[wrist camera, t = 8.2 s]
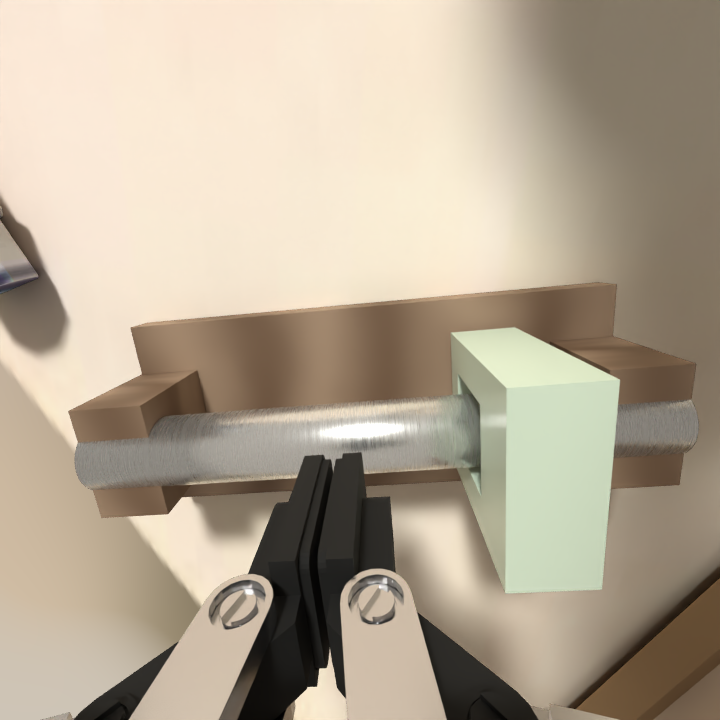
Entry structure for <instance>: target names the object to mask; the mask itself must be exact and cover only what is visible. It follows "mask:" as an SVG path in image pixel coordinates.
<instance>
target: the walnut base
mask: <svg viewBox="0 0 720 720" xmlns="http://www.w3.org/2000/svg"><path fill="white" fill-rule="evenodd" d="M616 289H617V284H609V283H599V282H598V283H587V284H576V285H565V286H553V287H542V288H531V289H520V290H509V291H498V292H486V293H475V294H464V295H453V296H442V297H431V298H419V299H408V300H397V301H386V302H375V303H364V304H353V305H341V306H330V307H319V308H308V309H297V310H286V311H274V312H263V313H252V314H241V315H230V316H219V317H207V318H196V319H185V320H174V321H163V322H152V323H145V324H142V325H138V326H135V327H131V332H132V336H133V340H134V344H135V348H136V352H137V356H138V360H139V364H140V367H141V371H142V375H140V376H138V377H136V378H134V379H132V380H130V381H128V382H126V383H124V384H122V385H120V386H118V387H116V388H114V389H112V390H110V391H108V392H106V393H104V394H102V395H100V396H98V397H96V398H94V399H92V400H90V401H88V402H86V403H84V404H82V405H80V406H78V407H76V408H74V409H72V410H70V411H68V412H69V415H70V418H71V421H72V425H73V428H74V431H75V434H76V437H77V441H78V443H79V442H93V441H108V440H122V439H136V438H148V437H149V434H150V431H151V429H152V427H153V426H154V424H155V423H156V422H157V421H158V420H159V419H160V418H162V417H164V416H172V415H185V414H199V413H213V412H226V411H240V410H253V409H267V408H280V407H294V406H308V405H321V404H335V403H348V402H362V401H376V400H389V399H403V398H416V397H430V396H443V395H453V390H452V360H451V333H452V332H464V331H476V330H488V329H500V328H512V327H515V328H517V329H519V330H521V331H523V332H525V333H527V334H529V335H531V336H533V337H535V338H537V339H539V340H541V341H543V342H545V343H547V344H549V345H551V346H553V347H555V348H557V349H559V350H561V351H563V352H565V353H567V354H569V355H571V356H573V357H575V358H577V359H579V360H581V361H583V362H585V363H587V364H589V365H591V366H593V367H595V368H597V369H600V370H602V371H604V372H606V373H608V374H610V375H612V376H614V377H616V378H618V379H620V386H619V398H618V405H620V404H635V403H649V402H663V401H677V400H691V398H692V390H693V383H694V376H695V369H696V363H693V362H690V361H686V360H683V359H680V358H677V357H674V356H671V355H668V354H665V353H662V352H659V351H656V350H653V349H650V348H647V347H644V346H641V345H638V344H635V343H632V342H629V341H626V340H623V339H620V338H617V337H614V336H613V327H614V314H615V301H616ZM683 455H684V453H683V454H667V455H650V456H634V457H618V458H613V467H612V479H611V489H617V488H634V487H652V486H669V485H679V484H680V477H681V469H682V462H683ZM364 478H365V486H377V485H394V484H411V483H427V482H444V481H461V478H460V475H459V473H458V470H457V468H452V469H436V470H420V471H403V472H387V473H371V474H364ZM296 479H297V478H290V479H274V480H258V481H242V482H225V483H209V484H193V485H177V486H150V487H134V488H118V489H102V490H93V492H94V495H95V498H96V501H97V505H98V508H99V511H100V514H101V517H102V518H109V517H126V516H144V515H161V514H169V512H170V511H171V510H172V509H173V507H174V506H175V505H176V504H177V503H178V501H179V500H180V499H181V498H182V497H193V496H210V495H227V494H244V493H260V492H277V491H293V488H294V485H295V482H296Z"/></svg>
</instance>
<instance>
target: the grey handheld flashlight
mask: <svg viewBox="0 0 720 720" xmlns="http://www.w3.org/2000/svg"><path fill="white" fill-rule="evenodd" d="M1 217H3V213H2V208H1V206H0V218H1ZM35 279H38V274H37V273H36V271H35V270H34V268H33V267H32V265H31V264H30V263H29V261H28V260H27V258H26V257H25V255H24V254H23V252H22V251H21V249H20V248H19V247H18V245H17V244H16V242H15V241H14V239H13V238H12V236H11V235H10V234H9V232H8V231H7V229H6V228H5V226H4V225H3V223H2V222H1V221H0V294H1V293H4V292H7V291H9V290H11V289H14V288H16V287H19V286H21V285H23V284H26V283H28V282H30V281H33V280H35Z"/></svg>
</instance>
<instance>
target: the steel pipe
mask: <svg viewBox="0 0 720 720" xmlns="http://www.w3.org/2000/svg"><path fill="white" fill-rule="evenodd" d="M698 430H699V422H698V416H697V412H696V409H695V406H694V404H693V402H692V400H677V401H663V402H649V403H635V404H620V405H618V409H617V421H616V432H615V444H614V456H613V458H618V457H634V456H650V455H667V454H683V453H686V452H688V451H689V450H690V449H691V448H692V447H693V446H694V444H695V442H696V440H697V436H698ZM357 452H361V453H362V459H363V468H364V474H371V473H387V472H403V471H420V470H436V469H452V468H468V467H481V438H480V404H479V402H478V401H477V399H476V398H475V397H474V395H473V394H472V393H471V394H457V395H443V396H430V397H416V398H403V399H389V400H376V401H362V402H348V403H335V404H321V405H308V406H294V407H280V408H267V409H253V410H240V411H226V412H213V413H199V414H185V415H172V416H164V417H162V418H160V419H159V420H158V421H157V422H156V423H155V424H154V426H153V427H152V429H151V431H150V434H149V437H148V438H136V439H122V440H108V441H93V442H79V443H78V444H77V447H76V452H75V469H76V473H77V476H78V478H79V480H80V481H81V483H82V484H83V485H84V486H85V487H87V488H88V489H91V490H102V489H118V488H134V487H150V486H177V485H193V484H209V483H225V482H242V481H258V480H274V479H290V478H297V476H298V473H299V470H300V468H301V465H302V462H303V459H304V457H305V456H309V455H324V457H325V459H331V461H332V467H333V471H334V466H335V461H336V459H340V458H342V455H343V453H357Z"/></svg>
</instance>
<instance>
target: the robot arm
mask: <svg viewBox="0 0 720 720" xmlns="http://www.w3.org/2000/svg"><path fill="white" fill-rule="evenodd" d="M329 650H330V651H331V657H332V663H333V667H334V672H335V678H336V684H337V688H338V690H339V691H340V692H341V693H342V695H343V696H344V697H345V698H346V704H347V720H618V719H614V718H610V717H606V716H601V715H597V714H593V713H589V712H584V711H580V710H576V709H572V708H567V707H563V706H559V705H555V704H550V703H549V710H546V709H542V708H537V707H533V706H530V705H529V704H528V703H527V702H526V701H525V700H524V699H523V698H522V697H521V695H520V694H519V693H518V692H517V691H515V690H514V689H513V688H512V687H510V686H509V685H508V684H507V683H505V682H504V681H503V680H502V679H500V678H499V677H498V676H497V675H495V674H494V673H493V672H492V671H490V670H489V669H488V668H487V667H485V666H484V665H483V664H482V663H480V662H479V661H478V660H477V659H475V658H474V657H473V656H472V655H470V654H469V653H468V652H467V651H465V650H464V649H463V648H462V647H460V646H459V645H458V644H457V643H455V642H454V641H453V640H452V639H450V638H449V637H448V636H447V635H445V634H444V633H443V632H442V631H440V630H439V629H438V628H437V627H435V626H434V625H433V624H432V623H430V622H429V621H428V620H427V619H425V618H424V617H423V616H422V615H420V614H419V613H418V612H417V610H416V607H415V603H414V600H413V596H412V592H411V590H410V588H409V586H408V584H407V582H406V581H405V580H404V579H403V578H402V577H401V576H400V575H398V574H396V573H395V557H394V541H393V528H392V515H391V504H390V497H373V498H367V497H366V487H365V478H364V468H363V459H362V453H361V452H357V453H343V455H342V458H340V459H336V461H335V466H334V471H333V467H332V461H331V459H325V457H324V455H309V456H305V457H304V459H303V462H302V465H301V468H300V470H299V473H298V476H297V479H296V482H295V485H294V488H293V491H292V494H291V497H290V499H289V502H282V503H277V504H276V505H275V507H274V509H273V512H272V514H271V517H270V519H269V522H268V524H267V527H266V529H265V532H264V535H263V537H262V540H261V542H260V545H259V547H258V550H257V552H256V555H255V557H254V560H253V562H252V565H251V568H250V570H249V573H248V574H244V575H240V576H237V577H233V578H231V579H229V580H228V581H226V582H224V583H222V584H221V585H220V586H218V587H217V588H216V589H215V590H214V591H213V592H212V593H211V594H210V595H209V597H208V598H207V599H206V601H205V602H204V604H203V605H202V607H201V608H200V610H199V612H198V613H197V615H196V616H195V618H194V619H193V621H192V622H191V624H190V625H189V627H188V628H187V630H186V632H185V633H184V635H183V636H182V638H181V639H180V641H179V642H177V643H176V644H174V645H173V646H171V647H170V648H169V649H167V650H166V651H164V652H163V653H161V654H160V655H159V656H157V657H156V658H154V659H153V660H152V661H150V662H149V663H147V664H146V665H144V666H143V667H141V668H140V669H139V670H137V671H136V672H134V673H133V674H132V675H130V676H129V677H127V678H126V679H124V680H123V681H121V682H120V683H119V684H117V685H116V686H115V687H113V688H111V689H110V690H109V691H107V692H106V693H104V694H103V695H102V696H100V697H99V698H97V699H96V700H94V701H93V702H92V703H91V704H90V705H88V706H87V707H86V708H85V709H83V710H82V711H81V712H80V713H79V714H78V716H76V718H72V715H71V713H70V712H68V713H65V714H61V715H57V716H54V717H50V718H46V719H42V720H293V718H294V712H295V700H296V699H297V698H298V697H299V696H300V695H301V694H302V693H303V692H304V691H305V690H306V689H307V687H317V682H318V675H319V668H327V665H328V659H329Z"/></svg>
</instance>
